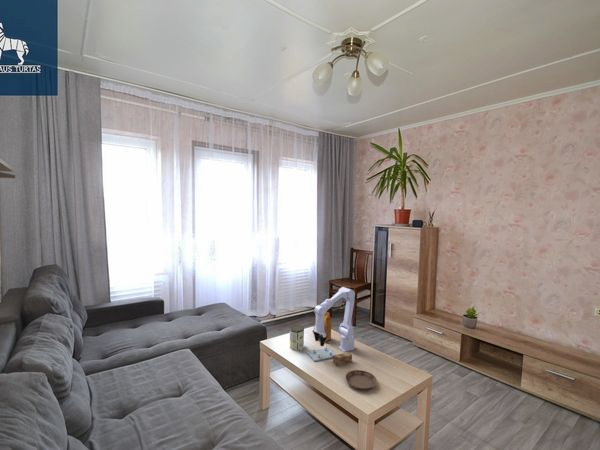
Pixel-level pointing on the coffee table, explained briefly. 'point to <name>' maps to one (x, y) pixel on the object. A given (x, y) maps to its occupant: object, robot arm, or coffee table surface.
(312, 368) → the coffee table surface
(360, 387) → the plant saucer
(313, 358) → the peg board
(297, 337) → the coffee can
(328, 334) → the coffee package
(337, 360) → the walnut bar
